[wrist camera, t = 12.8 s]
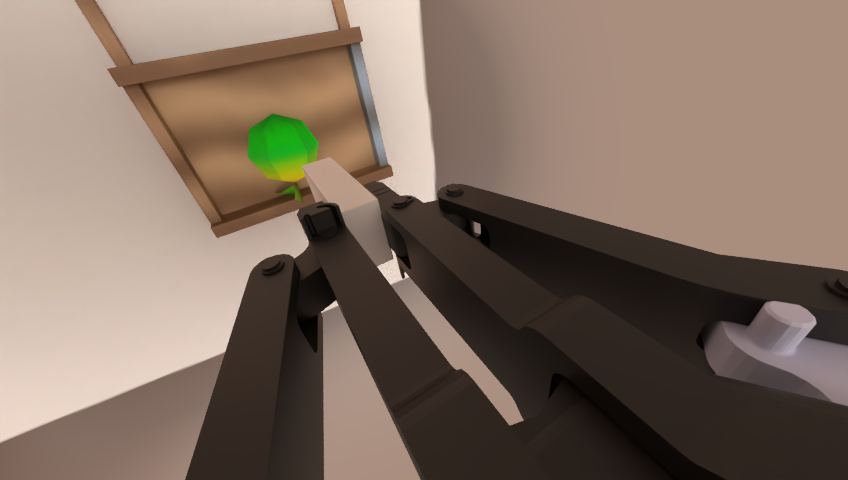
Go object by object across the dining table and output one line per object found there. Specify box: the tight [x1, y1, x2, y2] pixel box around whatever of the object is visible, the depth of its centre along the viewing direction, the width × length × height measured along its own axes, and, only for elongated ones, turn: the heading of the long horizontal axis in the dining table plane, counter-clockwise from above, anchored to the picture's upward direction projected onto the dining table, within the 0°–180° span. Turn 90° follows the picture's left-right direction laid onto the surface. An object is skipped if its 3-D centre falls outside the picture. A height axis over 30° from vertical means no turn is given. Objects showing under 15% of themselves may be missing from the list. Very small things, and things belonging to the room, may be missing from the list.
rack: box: [75, 0, 393, 238], centre depth 27 cm, size 29×20×4 cm
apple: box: [248, 113, 319, 203], centre depth 31 cm, size 7×6×9 cm
